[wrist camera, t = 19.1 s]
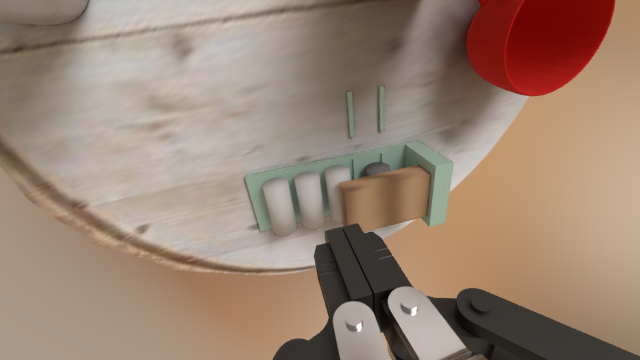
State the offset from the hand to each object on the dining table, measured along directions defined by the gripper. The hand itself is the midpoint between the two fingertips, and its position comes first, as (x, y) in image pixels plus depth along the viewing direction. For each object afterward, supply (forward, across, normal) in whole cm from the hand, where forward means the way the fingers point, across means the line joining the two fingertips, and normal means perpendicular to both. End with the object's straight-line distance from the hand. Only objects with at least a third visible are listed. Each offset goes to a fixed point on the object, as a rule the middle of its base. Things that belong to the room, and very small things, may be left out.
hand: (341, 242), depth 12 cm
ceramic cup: (+27, -28, -6) cm, 39 cm away
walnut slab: (+22, -11, +14) cm, 29 cm away
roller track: (+27, -7, +14) cm, 31 cm away
